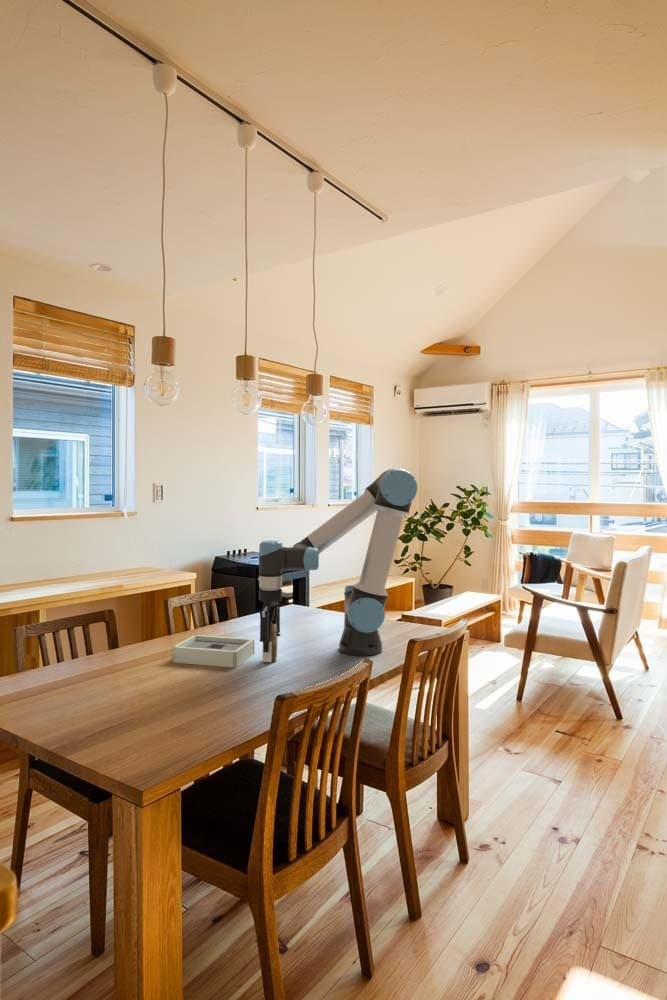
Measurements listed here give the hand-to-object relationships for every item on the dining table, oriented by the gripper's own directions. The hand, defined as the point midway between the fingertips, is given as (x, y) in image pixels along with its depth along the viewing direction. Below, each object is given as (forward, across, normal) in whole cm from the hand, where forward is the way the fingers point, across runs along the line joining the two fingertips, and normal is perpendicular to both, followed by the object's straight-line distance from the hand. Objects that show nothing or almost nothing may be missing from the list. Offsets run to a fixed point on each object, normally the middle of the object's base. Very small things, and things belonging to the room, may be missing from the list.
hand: (270, 658), depth 199 cm
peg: (+1, 0, 0) cm, 1 cm away
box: (+1, +2, -19) cm, 19 cm away
